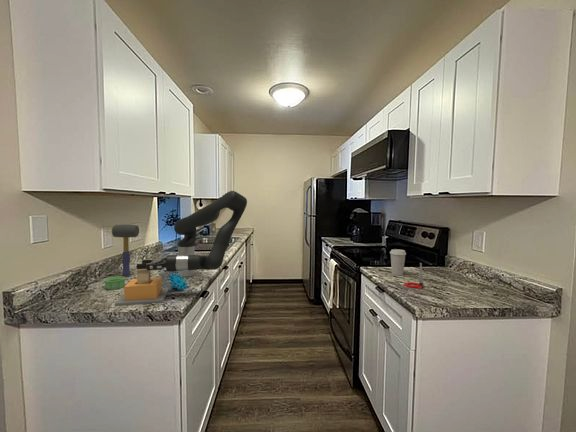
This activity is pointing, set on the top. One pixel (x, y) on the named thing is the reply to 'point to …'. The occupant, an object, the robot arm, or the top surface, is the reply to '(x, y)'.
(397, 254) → the coffee cup
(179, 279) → the gear
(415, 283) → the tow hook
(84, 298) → the top surface
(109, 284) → the ramekin
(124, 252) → the rubber mallet
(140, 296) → the orange square frame
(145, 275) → the tall wooden block
